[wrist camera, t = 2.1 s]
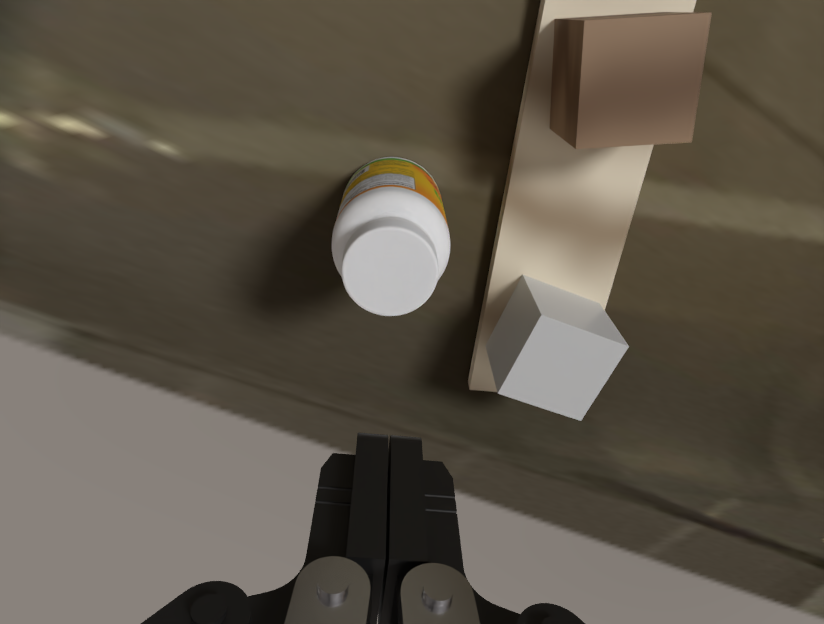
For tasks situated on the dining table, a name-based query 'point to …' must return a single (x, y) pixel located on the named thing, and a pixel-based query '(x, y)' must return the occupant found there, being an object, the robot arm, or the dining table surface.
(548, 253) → the birch strip
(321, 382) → the dining table surface
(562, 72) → the walnut block
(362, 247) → the supplement bottle
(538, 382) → the grey block
